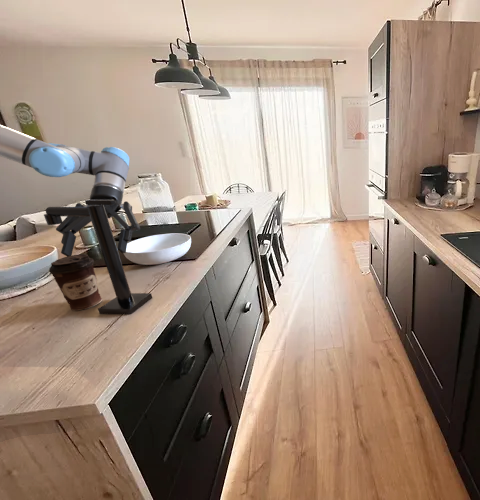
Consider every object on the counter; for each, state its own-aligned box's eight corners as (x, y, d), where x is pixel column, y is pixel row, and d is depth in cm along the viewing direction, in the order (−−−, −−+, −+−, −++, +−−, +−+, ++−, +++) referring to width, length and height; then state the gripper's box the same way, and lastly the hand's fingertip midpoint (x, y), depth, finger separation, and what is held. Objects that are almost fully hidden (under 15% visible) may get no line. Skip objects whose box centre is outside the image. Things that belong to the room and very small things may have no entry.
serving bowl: (153, 249, 114) (149, 232, 112) (205, 249, 113) (201, 233, 111) (110, 271, 95) (104, 251, 92) (172, 272, 94) (167, 252, 91)
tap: (66, 313, 71) (21, 203, 61) (94, 297, 79) (57, 196, 69) (132, 314, 71) (97, 203, 61) (154, 298, 78) (126, 196, 68)
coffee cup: (113, 301, 77) (98, 256, 72) (73, 317, 70) (53, 268, 65) (99, 293, 81) (83, 250, 76) (60, 307, 74) (40, 261, 69)
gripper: (157, 197, 95) (149, 254, 87) (70, 199, 90) (52, 261, 82) (146, 182, 89) (136, 244, 80) (51, 185, 84) (30, 250, 75)
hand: (94, 253), depth 81 cm, fingers open, 13 cm apart
